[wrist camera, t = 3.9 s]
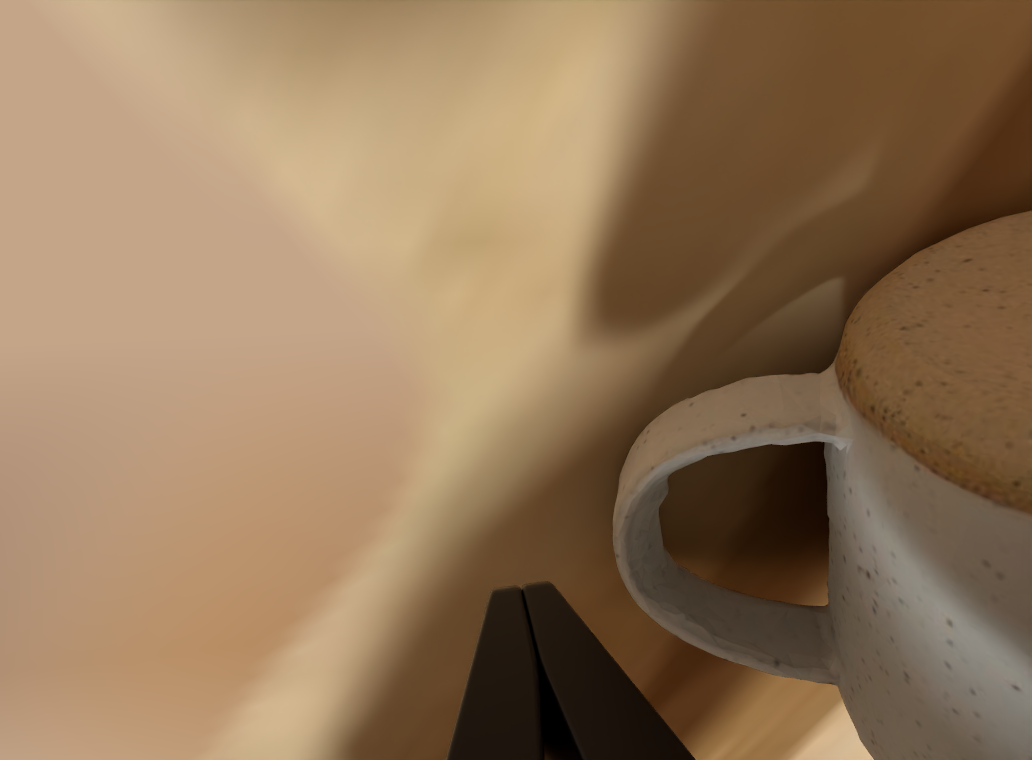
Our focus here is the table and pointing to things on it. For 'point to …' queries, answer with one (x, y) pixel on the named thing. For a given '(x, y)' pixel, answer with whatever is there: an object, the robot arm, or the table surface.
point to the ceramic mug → (885, 507)
